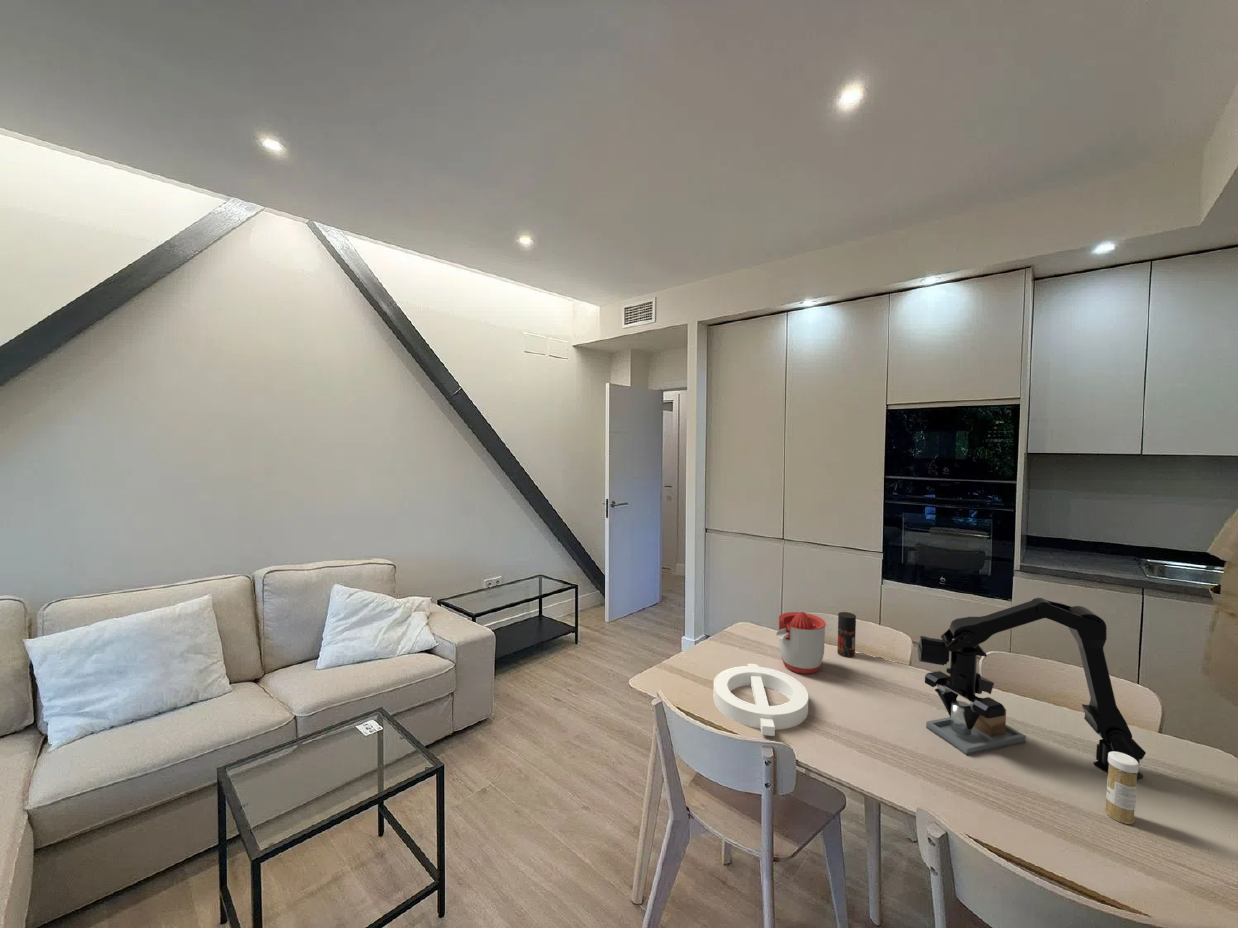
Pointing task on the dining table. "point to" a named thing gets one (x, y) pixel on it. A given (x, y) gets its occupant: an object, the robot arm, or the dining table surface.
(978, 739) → the tray
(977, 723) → the walnut block
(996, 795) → the dining table surface
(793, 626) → the citrus juicer
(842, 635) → the deodorant
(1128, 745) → the robot arm
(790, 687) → the ring with crossbar
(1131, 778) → the sprinkles bottle
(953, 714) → the steel cylinder
